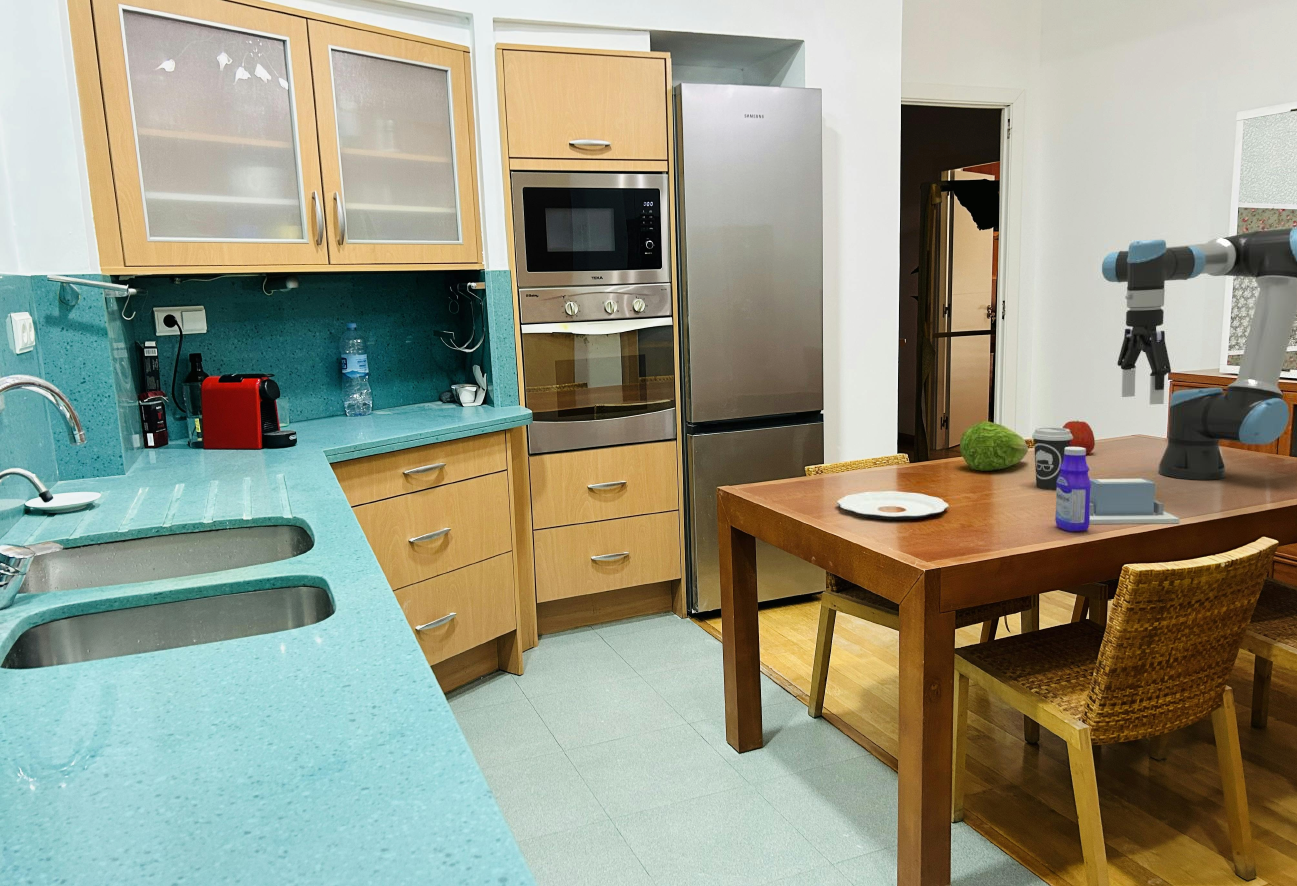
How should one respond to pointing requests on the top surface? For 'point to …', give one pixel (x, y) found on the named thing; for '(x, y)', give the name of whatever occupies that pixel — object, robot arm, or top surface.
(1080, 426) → the apple
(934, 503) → the plate
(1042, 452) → the coffee cup
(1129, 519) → the wall board
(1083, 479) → the bottle
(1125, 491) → the frame block
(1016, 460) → the lettuce
